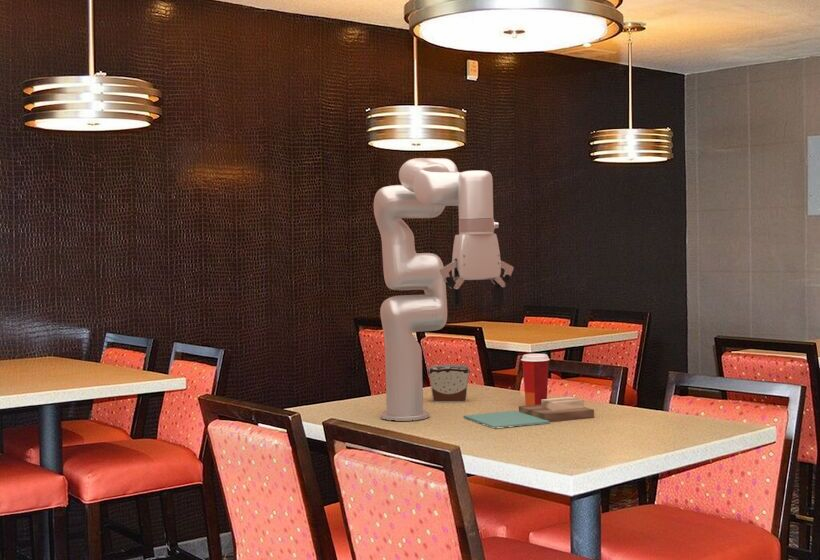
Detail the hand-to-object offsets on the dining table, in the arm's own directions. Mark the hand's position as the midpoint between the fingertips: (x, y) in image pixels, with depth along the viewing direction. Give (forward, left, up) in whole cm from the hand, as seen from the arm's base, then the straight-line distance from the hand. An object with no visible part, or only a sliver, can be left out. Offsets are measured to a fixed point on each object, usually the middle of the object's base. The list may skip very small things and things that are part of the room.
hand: (477, 306), depth 226 cm
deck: (-28, +35, -31) cm, 55 cm away
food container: (-65, +22, -32) cm, 76 cm away
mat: (-28, +21, -31) cm, 47 cm away
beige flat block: (-28, +37, -28) cm, 54 cm away
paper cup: (-44, +38, -31) cm, 66 cm away
